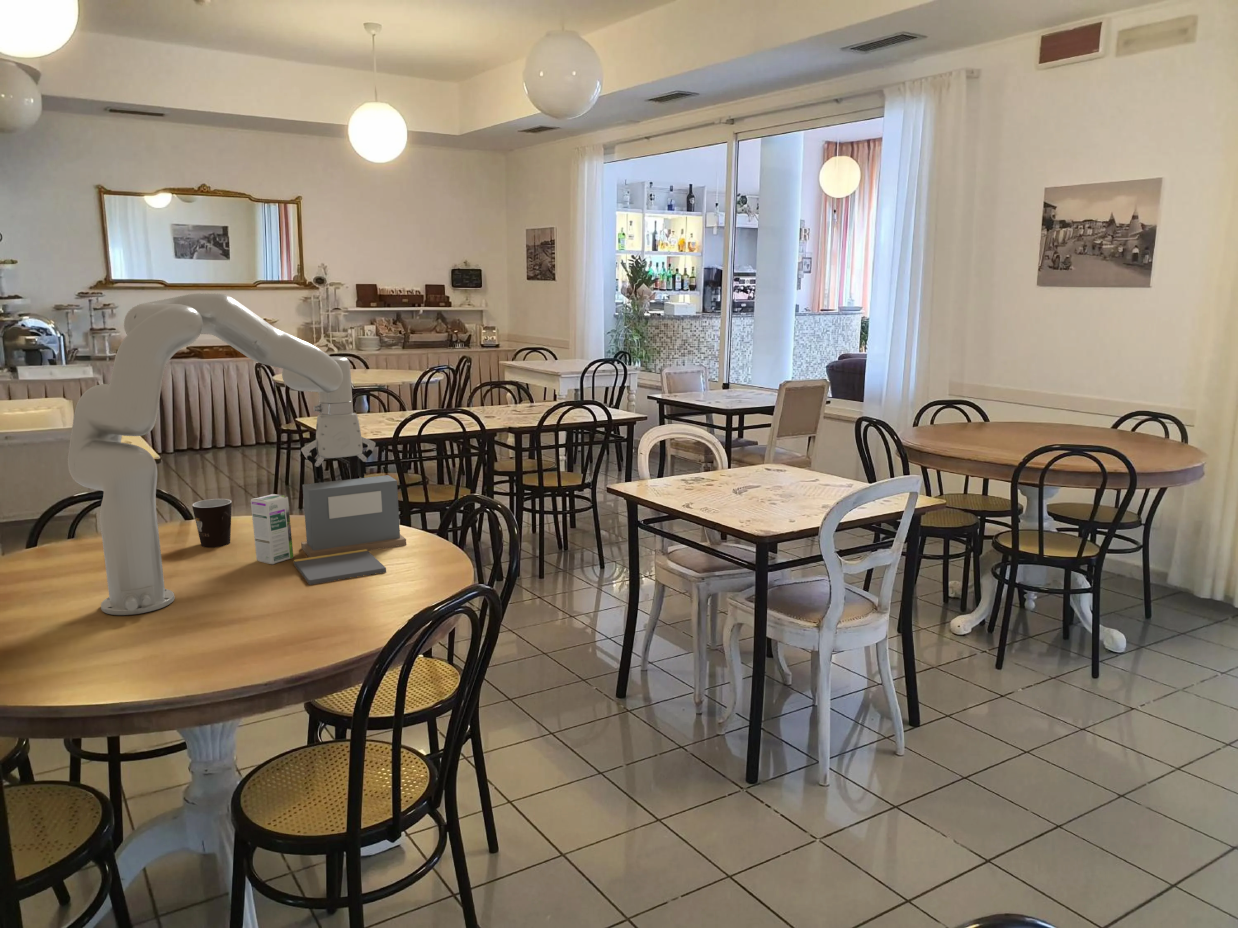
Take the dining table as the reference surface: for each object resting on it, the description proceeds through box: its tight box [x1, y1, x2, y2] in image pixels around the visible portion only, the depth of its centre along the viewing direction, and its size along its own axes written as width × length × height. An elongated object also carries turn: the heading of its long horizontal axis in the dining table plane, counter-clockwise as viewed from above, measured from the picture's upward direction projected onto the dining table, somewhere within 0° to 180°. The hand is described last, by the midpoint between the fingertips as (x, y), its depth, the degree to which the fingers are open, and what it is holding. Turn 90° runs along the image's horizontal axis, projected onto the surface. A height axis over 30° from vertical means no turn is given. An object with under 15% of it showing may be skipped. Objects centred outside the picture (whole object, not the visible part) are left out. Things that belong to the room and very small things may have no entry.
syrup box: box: [250, 493, 294, 565], centre depth 202 cm, size 6×6×14 cm
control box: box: [300, 474, 407, 558], centre depth 211 cm, size 10×22×16 cm, turn 120°
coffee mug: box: [192, 498, 233, 549], centre depth 213 cm, size 12×9×10 cm
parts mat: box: [293, 549, 387, 586], centre depth 196 cm, size 16×16×1 cm
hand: (341, 479), depth 218 cm, fingers open, 9 cm apart
